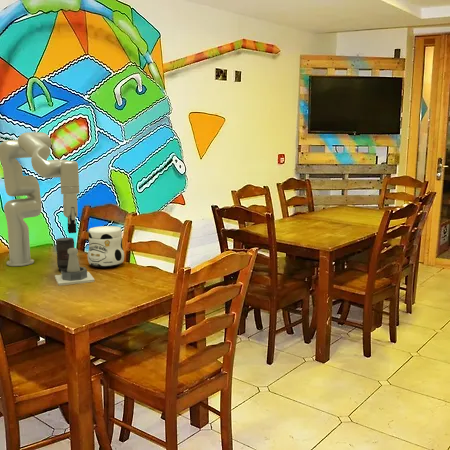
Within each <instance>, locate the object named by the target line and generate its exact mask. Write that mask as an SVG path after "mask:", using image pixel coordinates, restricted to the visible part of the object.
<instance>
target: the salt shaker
mask: <svg viewBox="0 0 450 450" xmlns="http://www.w3.org/2000/svg"><path fill="white" fill-rule="evenodd" d="M78 253H79V250H78V248H76V247H74V248H69V249H68V254H69V261H68V268H67V272H78V271H80V267H81V266H80V263H79V258H78Z"/></svg>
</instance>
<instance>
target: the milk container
mask: <svg viewBox="0 0 450 450" xmlns="http://www.w3.org/2000/svg"><path fill="white" fill-rule="evenodd" d="M122 234H123V233H122V227H120V226H114V225H113V226H111V225H106V226H105V225H103V226H100V225H99V226H94V227H90V228H89V229H88V251H87V261H88V263H89V265H90V266H92V267H95V268H105V269H106V268H113V267H117V266H120V265H122V264H123V263H124V261H125V251H124V249H123V236H122Z"/></svg>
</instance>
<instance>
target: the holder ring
mask: <svg viewBox="0 0 450 450" xmlns="http://www.w3.org/2000/svg"><path fill="white" fill-rule="evenodd" d="M67 268H68V267H67ZM67 268H64V269H61V272H60V275H61V278H62V280H68V281H75V280H82V279H84V278H87V272H88V269H87V267H85V266H80V271H78V272H67Z"/></svg>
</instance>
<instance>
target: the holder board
mask: <svg viewBox="0 0 450 450" xmlns="http://www.w3.org/2000/svg"><path fill="white" fill-rule="evenodd" d="M54 278H55V281H56V283H57V285H58V286H68V285H78V284H86V283H94V282H95V278H94V276H93V275H92V274H91V273H90V272H89V271H87V278H84V279H82V280H75V281H68V280H62V278H61V274H55V275H54Z"/></svg>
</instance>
